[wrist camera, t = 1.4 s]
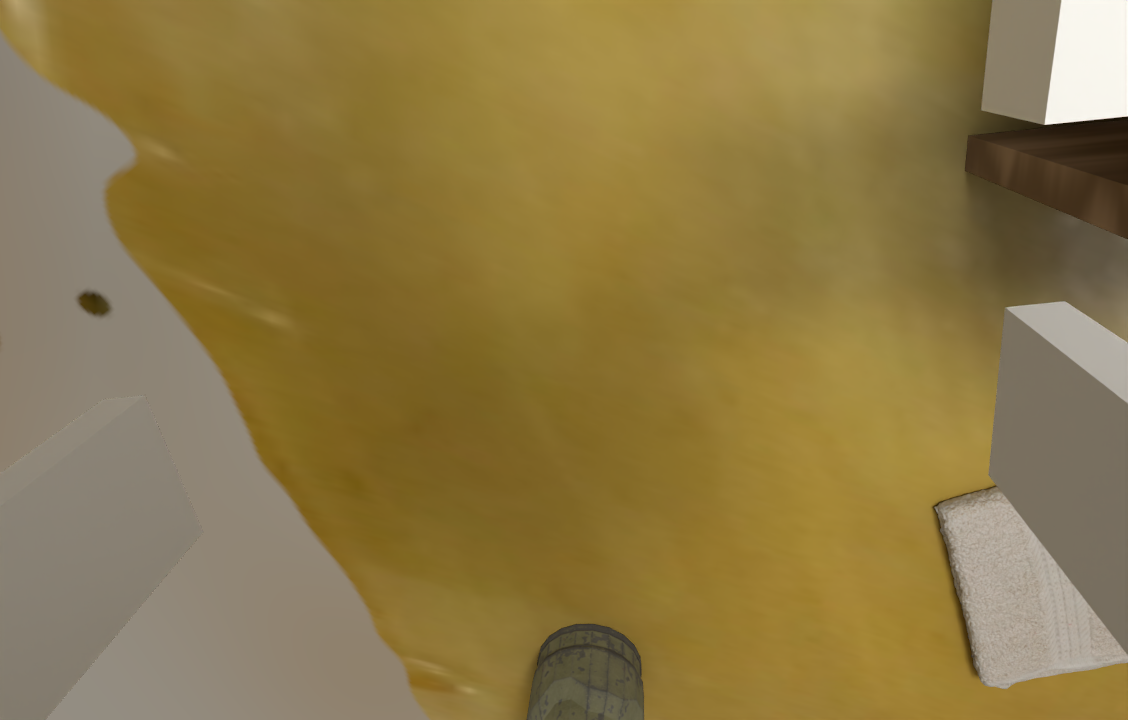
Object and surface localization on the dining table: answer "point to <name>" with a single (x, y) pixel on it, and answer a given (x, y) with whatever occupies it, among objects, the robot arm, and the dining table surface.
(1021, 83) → the beige stepped block
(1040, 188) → the walnut stand
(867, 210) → the dining table surface
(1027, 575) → the washcloth
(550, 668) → the thermos
